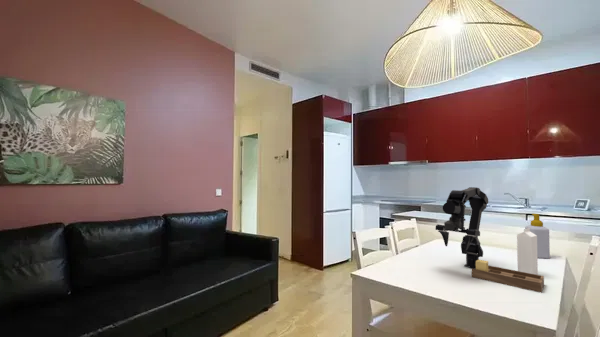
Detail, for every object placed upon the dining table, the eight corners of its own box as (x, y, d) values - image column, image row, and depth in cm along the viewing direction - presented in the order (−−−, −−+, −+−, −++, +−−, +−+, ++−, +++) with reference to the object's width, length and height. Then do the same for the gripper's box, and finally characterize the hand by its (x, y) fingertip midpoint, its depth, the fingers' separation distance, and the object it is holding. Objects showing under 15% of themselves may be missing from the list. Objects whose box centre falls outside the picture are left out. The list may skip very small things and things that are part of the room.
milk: (537, 274, 137) (537, 229, 137) (532, 276, 134) (531, 230, 134) (523, 271, 142) (522, 227, 142) (517, 272, 139) (516, 228, 139)
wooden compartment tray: (478, 271, 141) (478, 263, 141) (544, 284, 124) (543, 276, 124) (471, 277, 133) (471, 268, 133) (541, 292, 115) (541, 283, 115)
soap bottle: (541, 254, 171) (540, 213, 172) (550, 259, 163) (550, 215, 163) (524, 253, 173) (523, 213, 174) (532, 258, 165) (532, 214, 165)
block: (478, 269, 136) (477, 259, 136) (488, 272, 133) (488, 261, 133) (475, 271, 133) (475, 261, 133) (486, 274, 130) (486, 263, 130)
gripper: (430, 212, 141) (428, 244, 139) (470, 216, 126) (468, 252, 124) (442, 214, 148) (440, 244, 146) (481, 218, 133) (479, 252, 131)
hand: (455, 248), depth 136 cm, fingers open, 9 cm apart
